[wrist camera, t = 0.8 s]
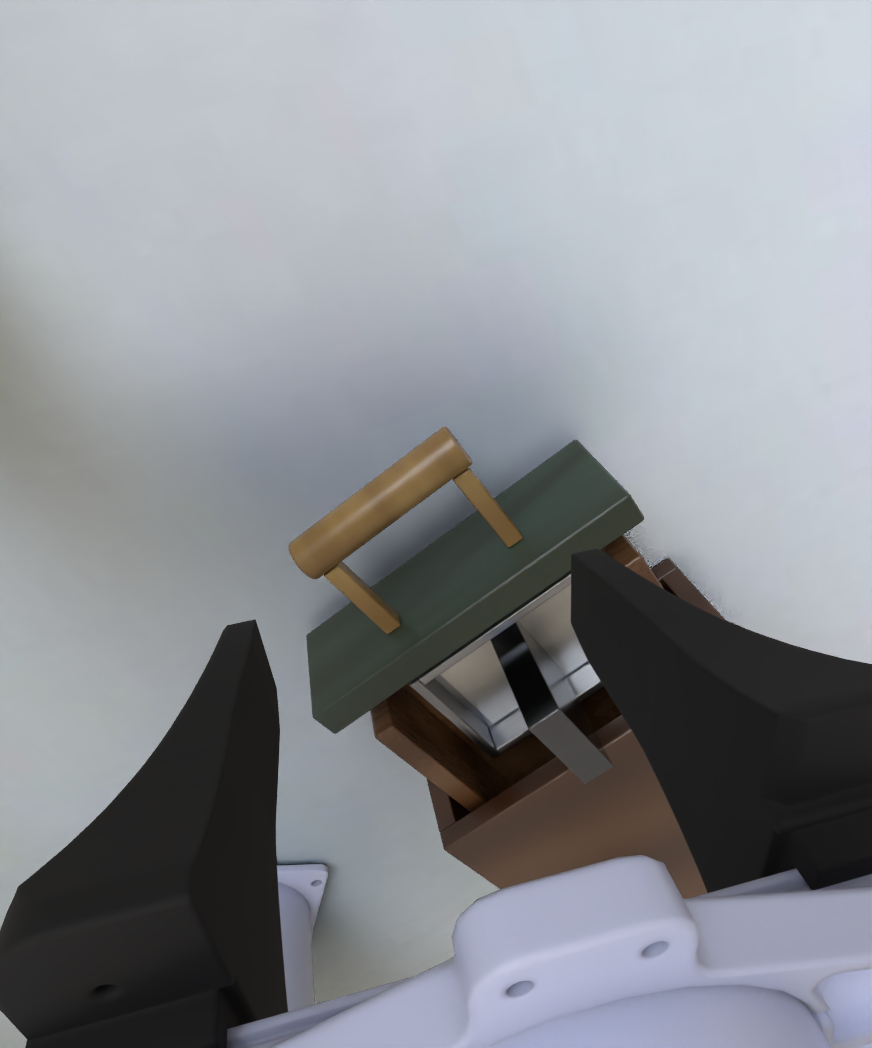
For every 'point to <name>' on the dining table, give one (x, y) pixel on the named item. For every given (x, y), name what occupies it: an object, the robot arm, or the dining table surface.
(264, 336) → the dining table surface
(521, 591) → the drawer
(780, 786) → the robot arm
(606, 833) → the cabinet
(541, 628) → the tray
